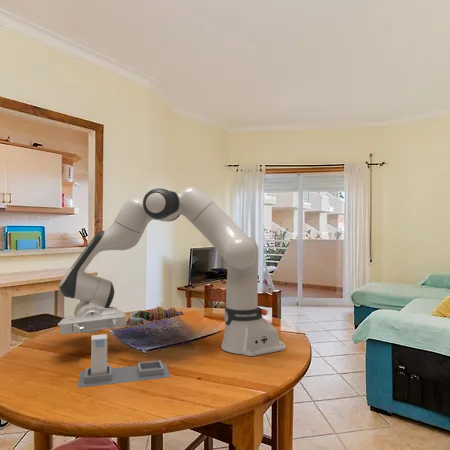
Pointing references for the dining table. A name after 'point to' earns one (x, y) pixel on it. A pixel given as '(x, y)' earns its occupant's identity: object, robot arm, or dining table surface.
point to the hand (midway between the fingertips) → (97, 328)
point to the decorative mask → (151, 316)
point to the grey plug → (98, 354)
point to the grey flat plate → (125, 374)
